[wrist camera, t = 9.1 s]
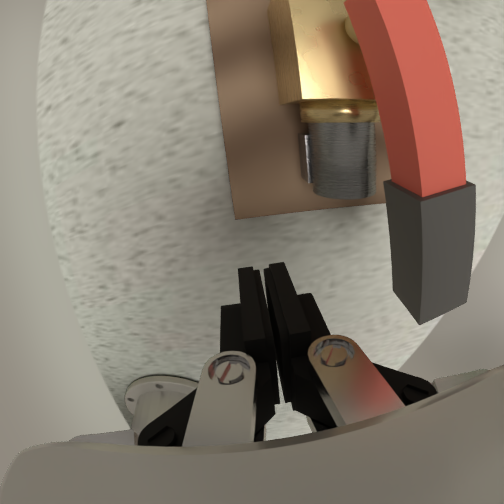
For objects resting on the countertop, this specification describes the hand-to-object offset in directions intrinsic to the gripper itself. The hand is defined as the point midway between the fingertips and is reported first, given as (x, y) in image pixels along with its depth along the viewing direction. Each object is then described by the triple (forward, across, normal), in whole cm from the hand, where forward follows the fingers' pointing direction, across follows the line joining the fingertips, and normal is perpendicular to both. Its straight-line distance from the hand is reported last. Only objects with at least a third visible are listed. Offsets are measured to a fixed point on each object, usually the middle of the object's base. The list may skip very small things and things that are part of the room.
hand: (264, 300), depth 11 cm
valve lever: (+3, -7, -5) cm, 9 cm away
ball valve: (+10, -6, -11) cm, 16 cm away
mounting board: (+11, -6, -11) cm, 17 cm away
